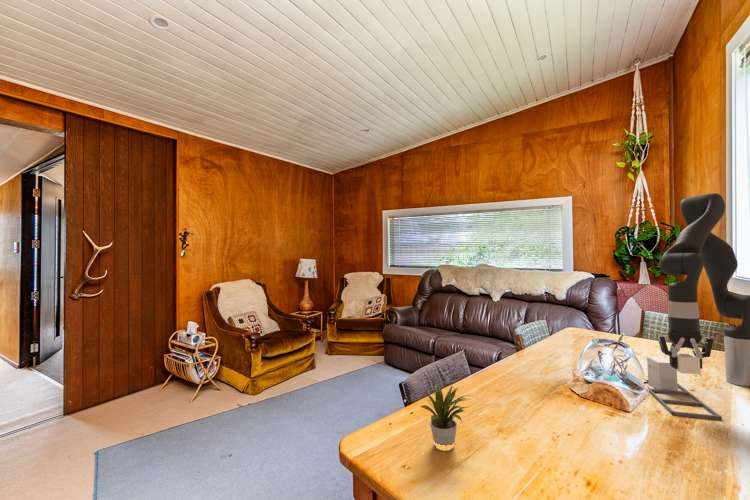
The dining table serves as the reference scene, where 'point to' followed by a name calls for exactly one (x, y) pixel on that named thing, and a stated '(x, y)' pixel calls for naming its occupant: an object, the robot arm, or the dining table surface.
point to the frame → (684, 392)
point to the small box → (661, 374)
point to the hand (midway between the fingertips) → (685, 368)
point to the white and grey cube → (688, 363)
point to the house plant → (444, 416)
